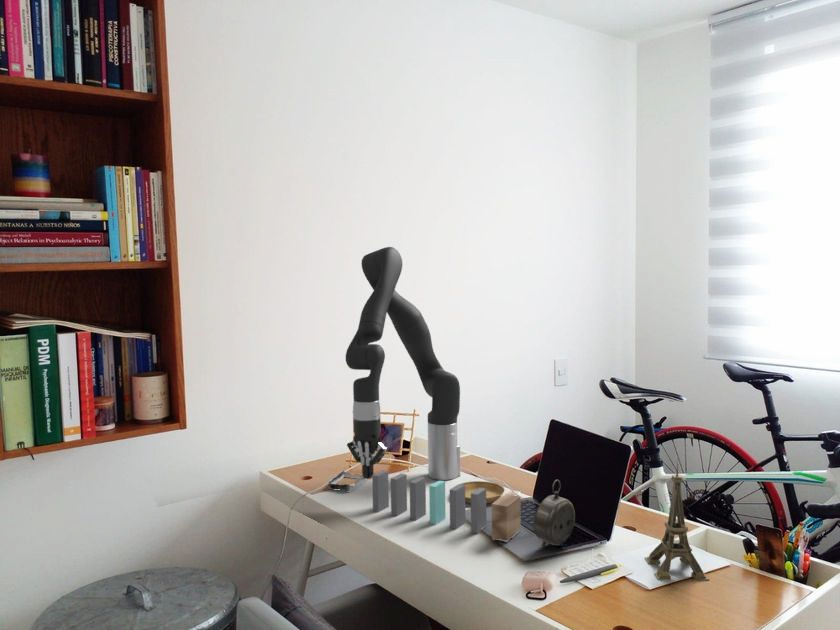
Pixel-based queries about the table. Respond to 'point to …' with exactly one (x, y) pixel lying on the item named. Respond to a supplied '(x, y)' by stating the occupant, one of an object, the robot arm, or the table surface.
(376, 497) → the domino
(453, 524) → the domino
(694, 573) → the eiffel tower
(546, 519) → the alarm clock
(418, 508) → the domino
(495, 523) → the end block
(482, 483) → the plant saucer
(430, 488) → the domino
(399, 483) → the domino
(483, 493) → the domino
